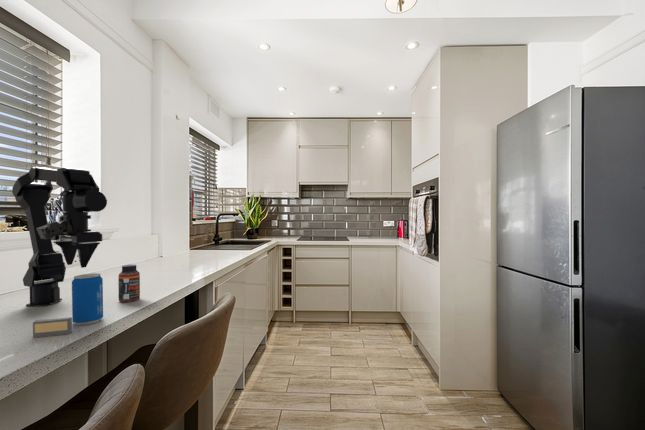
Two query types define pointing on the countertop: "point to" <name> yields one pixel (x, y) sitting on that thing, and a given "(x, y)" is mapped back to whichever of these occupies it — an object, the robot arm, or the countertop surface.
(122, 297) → the supplement bottle
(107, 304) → the countertop surface
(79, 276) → the beverage can
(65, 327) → the rail
